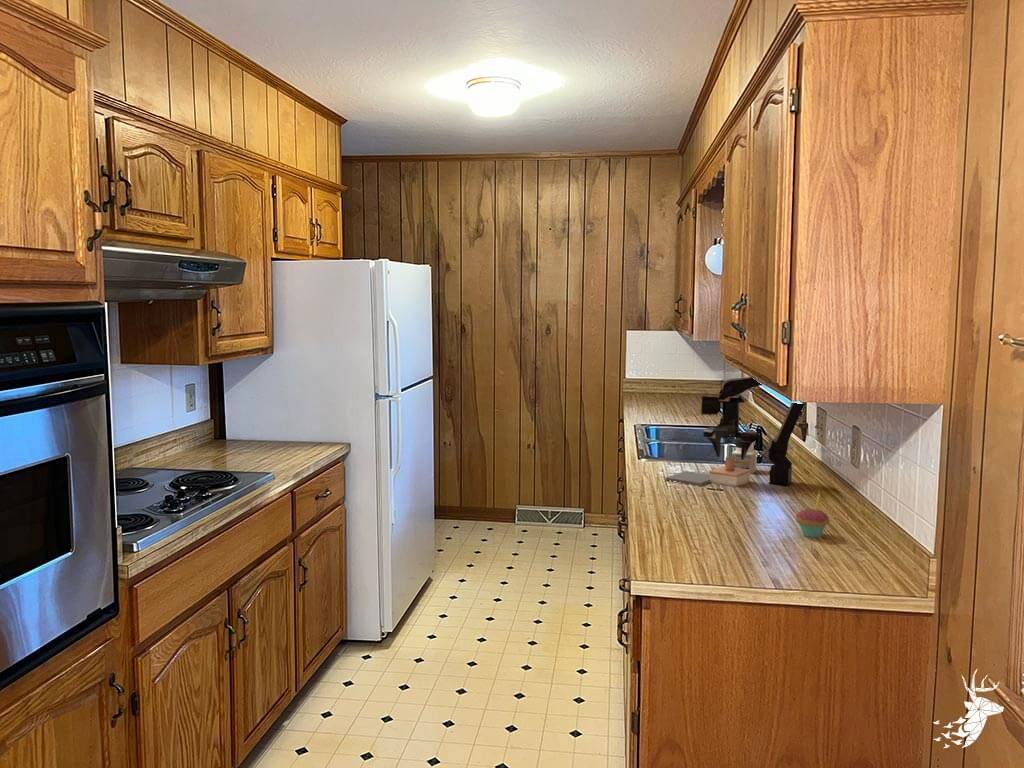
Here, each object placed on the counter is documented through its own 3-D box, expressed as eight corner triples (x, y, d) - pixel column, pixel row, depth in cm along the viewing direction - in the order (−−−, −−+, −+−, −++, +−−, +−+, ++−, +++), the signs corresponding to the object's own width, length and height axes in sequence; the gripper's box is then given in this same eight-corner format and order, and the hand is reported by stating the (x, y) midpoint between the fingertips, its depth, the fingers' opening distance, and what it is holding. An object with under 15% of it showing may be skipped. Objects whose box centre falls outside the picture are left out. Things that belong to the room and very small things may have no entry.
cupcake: (817, 529, 213) (818, 487, 212) (835, 538, 205) (836, 494, 204) (789, 531, 212) (790, 489, 211) (806, 540, 203) (807, 496, 202)
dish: (749, 481, 272) (749, 472, 272) (736, 486, 265) (736, 477, 264) (723, 477, 279) (723, 468, 278) (710, 482, 271) (710, 473, 271)
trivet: (719, 479, 276) (719, 476, 276) (700, 486, 266) (700, 483, 266) (685, 474, 286) (685, 470, 286) (665, 480, 275) (665, 477, 275)
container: (731, 472, 287) (732, 438, 286) (735, 468, 294) (736, 435, 293) (752, 474, 284) (753, 439, 282) (756, 470, 291) (757, 436, 289)
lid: (750, 472, 272) (750, 457, 271) (737, 477, 264) (737, 462, 263) (722, 468, 279) (723, 453, 278) (709, 473, 271) (709, 458, 270)
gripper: (695, 415, 269) (695, 458, 271) (745, 419, 257) (745, 465, 258) (710, 411, 278) (710, 454, 279) (759, 415, 265) (759, 460, 267)
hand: (730, 458), depth 271 cm, fingers open, 9 cm apart
